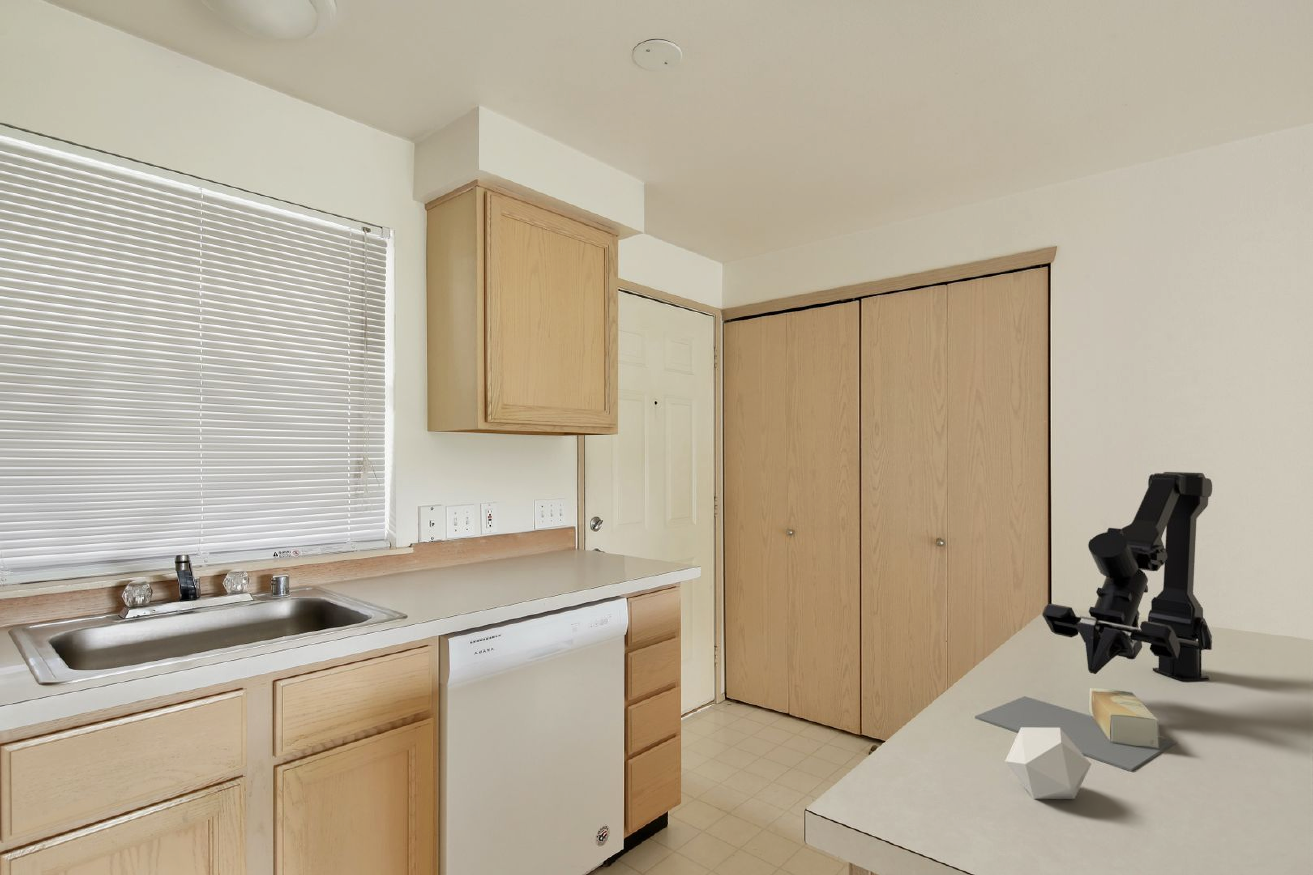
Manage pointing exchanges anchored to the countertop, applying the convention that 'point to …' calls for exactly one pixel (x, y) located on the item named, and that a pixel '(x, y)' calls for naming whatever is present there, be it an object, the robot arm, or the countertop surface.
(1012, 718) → the mat
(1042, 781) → the die
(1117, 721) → the skincare box
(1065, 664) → the countertop surface
